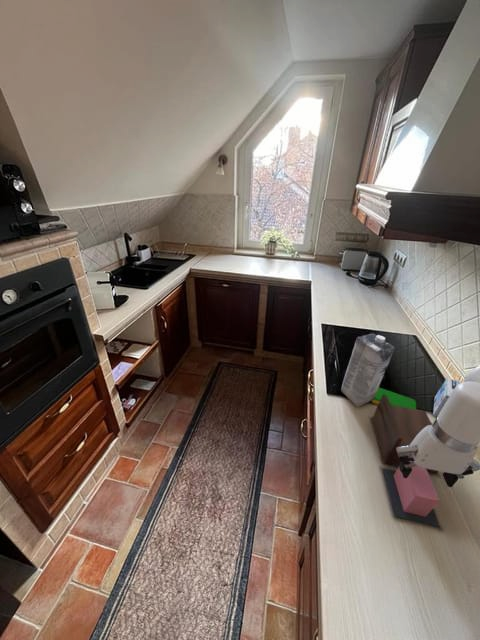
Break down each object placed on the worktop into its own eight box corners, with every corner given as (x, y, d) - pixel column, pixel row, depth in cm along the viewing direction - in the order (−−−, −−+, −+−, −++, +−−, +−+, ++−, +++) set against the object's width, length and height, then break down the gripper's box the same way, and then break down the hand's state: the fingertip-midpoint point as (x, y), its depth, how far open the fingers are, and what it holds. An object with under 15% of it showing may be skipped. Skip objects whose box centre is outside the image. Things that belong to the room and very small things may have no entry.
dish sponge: (373, 390, 100) (374, 385, 99) (413, 404, 94) (415, 400, 93) (371, 402, 94) (373, 397, 93) (413, 418, 89) (416, 413, 88)
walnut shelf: (415, 426, 86) (430, 402, 80) (436, 474, 72) (456, 449, 66) (371, 418, 88) (382, 394, 82) (384, 463, 75) (398, 438, 69)
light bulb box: (434, 397, 97) (446, 376, 92) (455, 405, 94) (469, 384, 89) (432, 415, 90) (446, 394, 84) (455, 425, 87) (471, 404, 81)
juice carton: (357, 410, 91) (380, 350, 77) (336, 390, 99) (354, 332, 86) (375, 402, 94) (400, 344, 81) (354, 383, 103) (373, 327, 89)
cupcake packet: (412, 479, 71) (424, 463, 66) (425, 516, 63) (439, 501, 59) (393, 475, 71) (403, 459, 67) (403, 511, 64) (415, 495, 60)
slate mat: (420, 477, 72) (420, 476, 71) (439, 527, 62) (439, 526, 61) (382, 469, 73) (382, 468, 73) (394, 516, 63) (395, 515, 63)
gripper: (490, 425, 55) (456, 469, 64) (404, 411, 59) (382, 455, 67) (514, 458, 49) (472, 501, 58) (416, 441, 52) (390, 484, 61)
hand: (424, 476), depth 63 cm, fingers open, 9 cm apart
